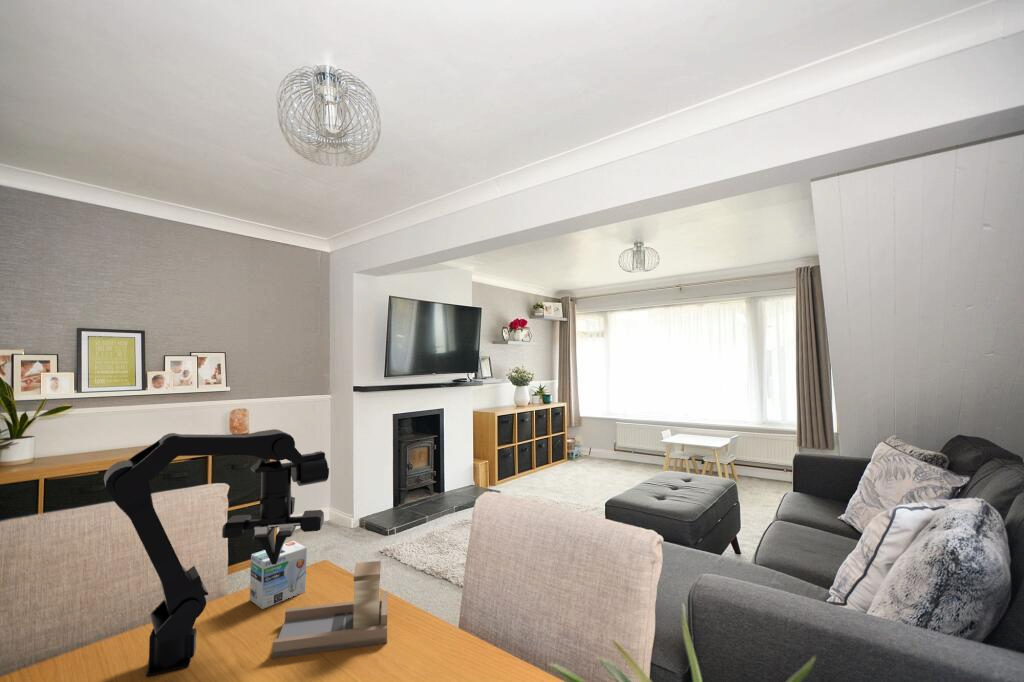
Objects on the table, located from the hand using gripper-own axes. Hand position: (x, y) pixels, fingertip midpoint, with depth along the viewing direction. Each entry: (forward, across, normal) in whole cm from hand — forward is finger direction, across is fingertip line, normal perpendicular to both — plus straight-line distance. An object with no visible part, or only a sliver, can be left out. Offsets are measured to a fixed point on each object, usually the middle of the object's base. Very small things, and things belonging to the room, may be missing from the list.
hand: (274, 563), depth 101 cm
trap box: (+13, -13, +6) cm, 19 cm away
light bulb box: (+13, +2, -13) cm, 19 cm away
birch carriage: (+11, -19, +6) cm, 23 cm away
